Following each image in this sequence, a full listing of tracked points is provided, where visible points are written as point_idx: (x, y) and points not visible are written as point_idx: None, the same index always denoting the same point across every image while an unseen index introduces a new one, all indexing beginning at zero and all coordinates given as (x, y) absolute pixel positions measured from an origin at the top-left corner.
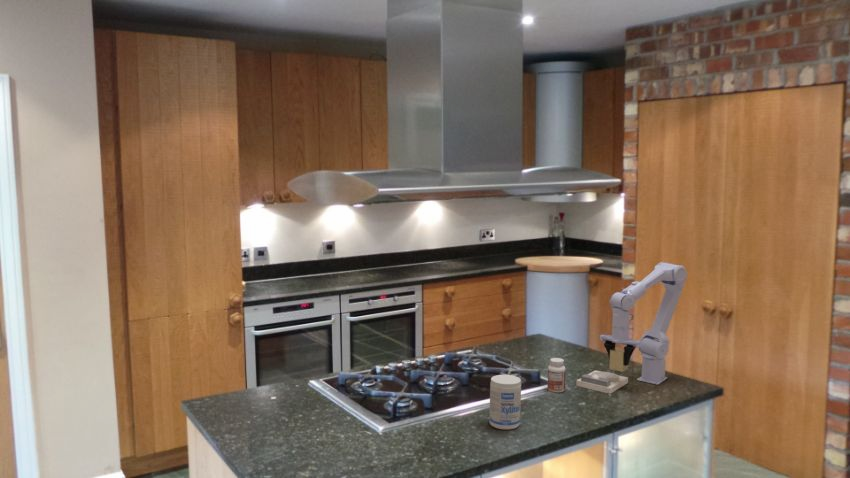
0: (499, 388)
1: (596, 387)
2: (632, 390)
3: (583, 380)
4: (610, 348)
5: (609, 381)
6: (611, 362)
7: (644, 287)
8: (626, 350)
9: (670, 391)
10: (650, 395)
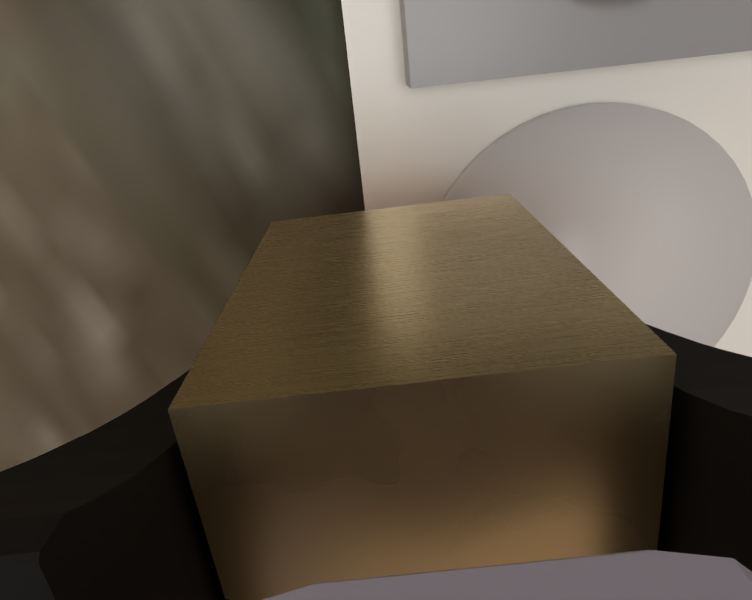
0: None
1: None
2: (238, 257)
3: None
4: (707, 432)
5: (407, 41)
6: (502, 232)
7: None
8: (14, 492)
9: (10, 467)
10: (34, 257)
